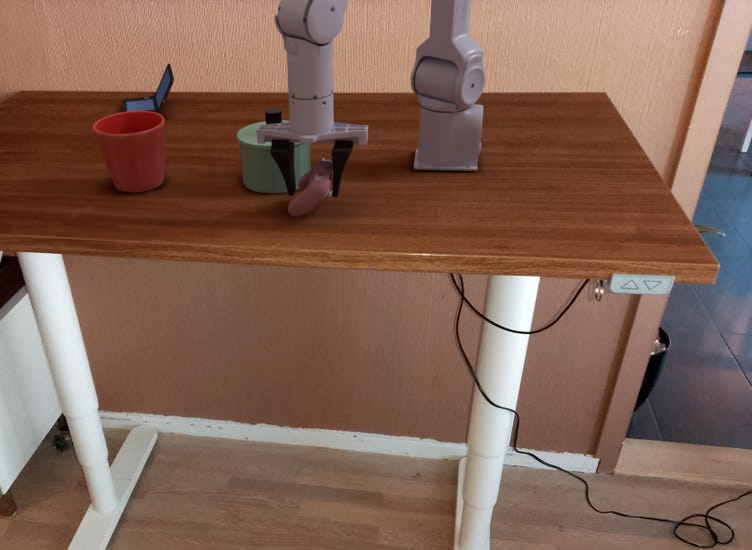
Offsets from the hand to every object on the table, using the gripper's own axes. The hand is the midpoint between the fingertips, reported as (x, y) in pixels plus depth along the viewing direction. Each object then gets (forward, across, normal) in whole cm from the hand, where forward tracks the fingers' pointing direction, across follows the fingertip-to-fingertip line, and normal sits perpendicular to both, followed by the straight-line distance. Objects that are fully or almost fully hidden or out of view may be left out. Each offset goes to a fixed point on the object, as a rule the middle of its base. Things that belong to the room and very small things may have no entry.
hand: (313, 193), depth 99 cm
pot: (+3, -8, +11) cm, 14 cm away
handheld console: (+3, -40, +44) cm, 59 cm away
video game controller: (+2, 0, 0) cm, 2 cm away
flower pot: (+3, -29, +8) cm, 30 cm away
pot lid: (-4, -8, +11) cm, 14 cm away
